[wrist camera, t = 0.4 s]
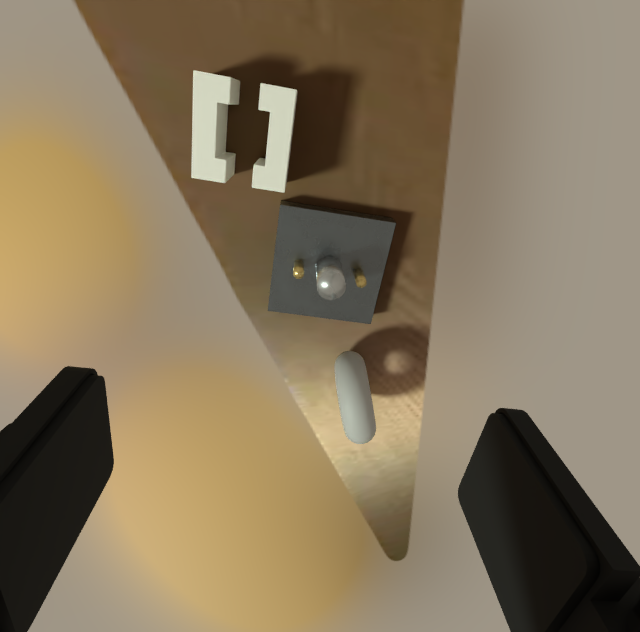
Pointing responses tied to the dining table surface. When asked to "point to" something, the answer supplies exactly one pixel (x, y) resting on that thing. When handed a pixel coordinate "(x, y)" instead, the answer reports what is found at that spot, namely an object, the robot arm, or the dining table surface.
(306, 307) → the post base
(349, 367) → the donut
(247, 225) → the dining table surface
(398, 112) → the dining table surface
